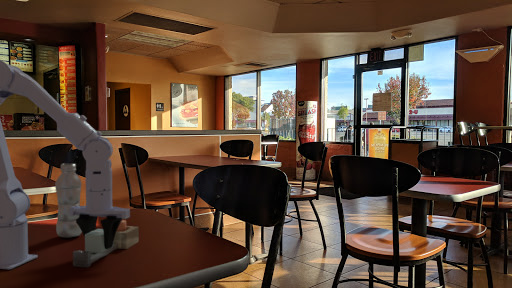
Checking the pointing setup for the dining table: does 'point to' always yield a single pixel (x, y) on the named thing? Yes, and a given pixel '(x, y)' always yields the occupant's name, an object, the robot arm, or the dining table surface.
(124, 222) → the button
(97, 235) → the block
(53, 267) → the dining table surface
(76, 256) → the rail
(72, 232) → the plastic bottle
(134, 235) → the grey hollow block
